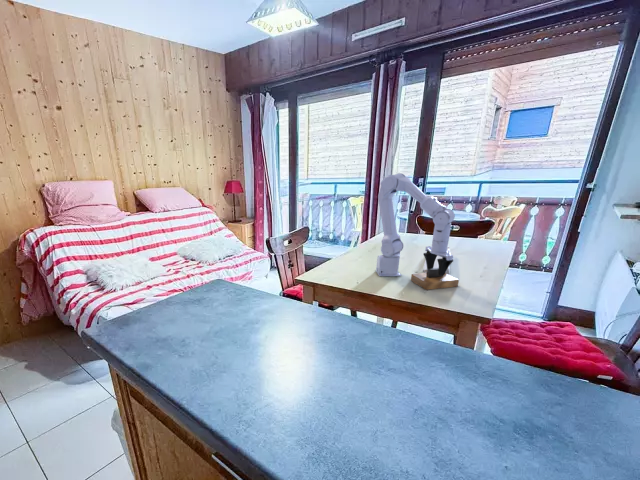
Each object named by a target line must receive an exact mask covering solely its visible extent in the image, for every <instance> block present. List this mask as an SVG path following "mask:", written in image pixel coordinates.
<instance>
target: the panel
mask: <svg viewBox="0 0 640 480" xmlns="http://www.w3.org/2000/svg"><path fill="white" fill-rule="evenodd" d="M426 276H427V273H424V272H419V273H418V272H417V273H412V274H411V276H410V281H411V282H412V283H414V284H416V285H418V286H419V287H420V288H421V289H424V290H427V291H429V290H438V289H446V288H455V287H459V284H460V283H459V281H460V279H458V278H457V277H454V276H452V275H448V274H446V273H445V274H444V275H443V277H433V278H428V277H426Z"/></svg>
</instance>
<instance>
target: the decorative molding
mask: <svg viewBox="0 0 640 480" xmlns="http://www.w3.org/2000/svg"><path fill="white" fill-rule="evenodd" d="M447 250H449V253H450V254H451V249H450V246H448V247H447ZM437 259H442V257H440V256H438V255H437V257H436V259H435V262H434V267H433V268H439V264H438V260H437ZM424 260H425V261H424V264H423V267H422V273H427V264H426V259H424ZM450 271H451V264H450V265H449V267H448V268H447V270H446V272H445V273H446V274H448V275H450V273H451V272H450Z"/></svg>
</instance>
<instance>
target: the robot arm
mask: <svg viewBox="0 0 640 480" xmlns="http://www.w3.org/2000/svg"><path fill="white" fill-rule="evenodd" d="M397 192H405V193H407V194H408V195H409V196H410V197H411V198H413V199H414V200H416V202H418V203H419V207H420V209H421V210H422V211H423V212H425V213H426V214H427V215H428V216H429V217H430V218H432V222H433V224H434V227H433V233H432V240H431V245H428V246H425V250H424V251H425V252H423V256H424V260H426V264H427V269H430V268H433V267H434V262H435V259H436V257H437V255H438V256H440V257H442V259H437V260H438V264H439V271H438V274H439V275H444V274H445V272H446V270H447V268H448V267H449V265H450V266H451V264H452V263H454V255H453V254H451V252H450V253H449V250H447V247H449V240H450V236H451V228H452V227H451V226H452V222H454V220H455V216H456V215H455V212H454V211H453V209H452V208H447V206H446V205H443V204H441V202H439V201H438V198H437V197H436V196H435V197H433V196H427V195H426V194H425V193H424V192H423V191H422V190H421V189H420V188H419V187H418V186H417V185H416V184H415V183H414V182H412V180H411V179H410V178H409V177H408V176H407V175H405V174H404V173H401V172H399V173H395V174H388V175H386V176H385V177H383V179H382V180H381V182H380V188H379V191H378V195H377V199H378V205H379V211H380V219H381V225H382V231H383V237H382V239H381V246H380V252H381V255H377V256H376V257H377V258H376V265H375V266H376V267H375V273H376V274H377V275H378V276H379V277H401V273H400V272H399V268H400V259H401V251H403V250H404V247H405V246H404V243H403V241H402V239H401V236H400V234H398V231H397V225H396V218H395V210H394V204H393V197H394V196H395V195H396V193H397Z"/></svg>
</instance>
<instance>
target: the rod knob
mask: <svg viewBox="0 0 640 480" xmlns="http://www.w3.org/2000/svg"><path fill="white" fill-rule="evenodd" d="M438 271H439V268H430V269H427V276H426V277H428V278H433V277H443V275H439V274H438Z"/></svg>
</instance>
